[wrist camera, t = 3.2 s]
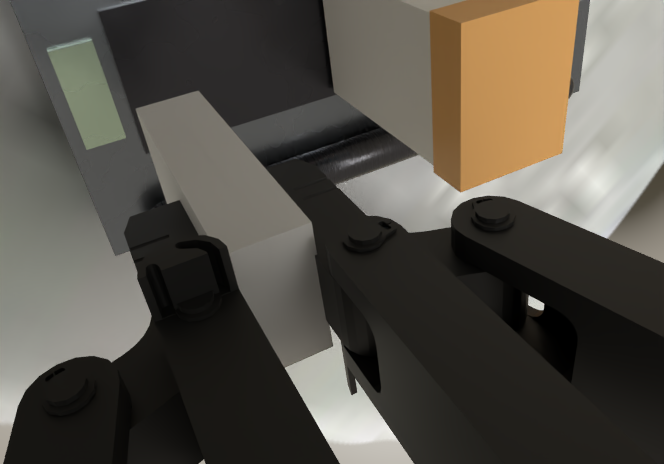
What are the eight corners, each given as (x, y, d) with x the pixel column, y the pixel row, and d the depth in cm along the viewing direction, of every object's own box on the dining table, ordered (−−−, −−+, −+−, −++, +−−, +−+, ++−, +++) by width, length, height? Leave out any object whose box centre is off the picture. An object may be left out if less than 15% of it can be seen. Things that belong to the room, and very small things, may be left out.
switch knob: (331, 96, 21) (460, 192, 15) (315, -35, 19) (460, 23, 13) (412, 70, 22) (562, 153, 16) (407, -58, 19) (580, -12, 14)
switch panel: (101, 214, 23) (122, 278, 20) (-35, -121, 17) (-39, -109, 13) (531, 70, 29) (603, 102, 26) (552, -220, 22) (652, -228, 19)
